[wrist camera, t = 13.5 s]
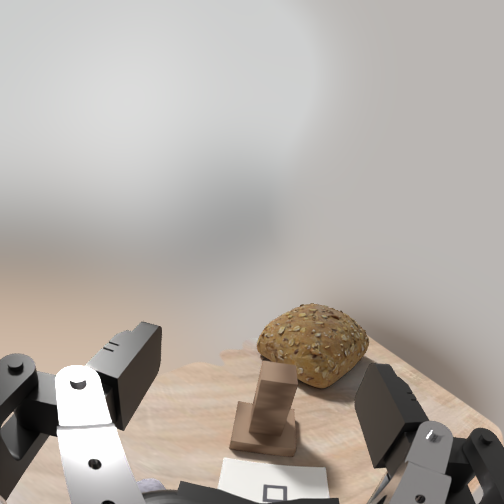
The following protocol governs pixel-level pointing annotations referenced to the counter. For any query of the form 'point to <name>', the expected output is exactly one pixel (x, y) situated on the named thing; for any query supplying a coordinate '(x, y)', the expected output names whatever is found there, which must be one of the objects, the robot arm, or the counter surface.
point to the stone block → (150, 485)
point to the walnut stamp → (268, 413)
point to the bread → (314, 343)
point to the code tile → (272, 481)
